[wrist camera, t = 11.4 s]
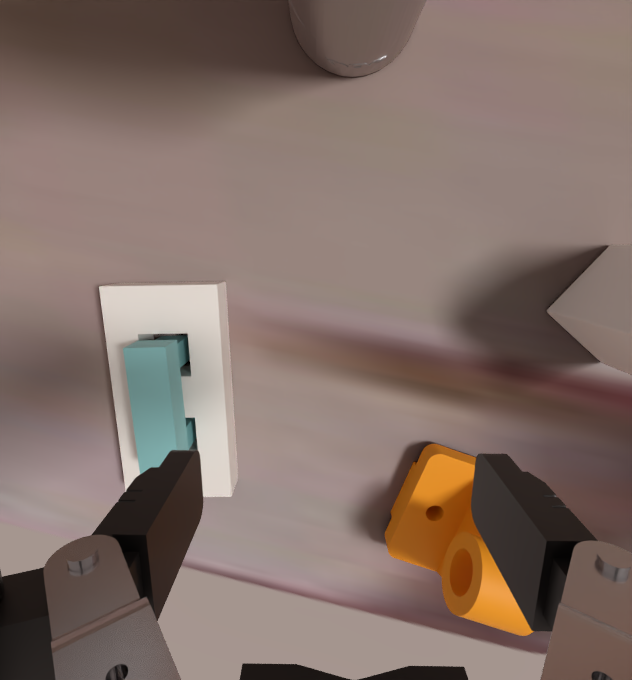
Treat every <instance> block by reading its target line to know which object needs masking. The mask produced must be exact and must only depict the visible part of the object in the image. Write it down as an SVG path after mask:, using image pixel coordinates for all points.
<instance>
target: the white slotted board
mask: <svg viewBox="0 0 632 680" xmlns="http://www.w3.org/2000/svg"><path fill="white" fill-rule="evenodd" d="M99 291H100V299H101V306H102V314H103V321H104V329H105V337H106V344H107V352H108V360H109V367H110V375H111V383H112V390H113V398H114V405H115V413H116V421H117V428H118V436H119V444H120V451H121V459H122V467H123V474H124V482H125V489H127V488H128V487H129V486H130V484H131V483H132V482H133V480H134V479H135V478H136V477H137V476H139V475H140V470H139V463H138V456H137V448H136V441H135V434H134V426H133V419H132V412H131V404H130V397H129V390H128V382H127V375H126V368H125V360H124V353H123V348H124V347H126V346H128V345H130V344H132V343H134V342H136V341H144V340H154V334H184V333H188V343H189V355H190V366H182V367H181V368H180V373H181V382H182V392H183V401H184V410H185V418H195V424H196V436H197V441H194V442H193V444H192V445H191V447H190V448H189V450H198V451H199V454H200V460H201V474H202V488H203V497H232V494H233V491H234V488H235V486H236V483H237V480H238V465H237V449H236V433H235V418H234V402H233V387H232V371H231V355H230V340H229V324H228V308H227V293H226V281H211V282H149V283H115V284H109V285H104V286H99Z"/></svg>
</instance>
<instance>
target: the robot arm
mask: <svg viewBox="0 0 632 680" xmlns="http://www.w3.org/2000/svg"><path fill="white" fill-rule="evenodd" d="M288 1H289V9H290V16H291V21H292V26H293V30H294V32H295V35H296V37H297V39H298V42H299V44H300V45H301V47H302V48H303V50H304V51H305V53H306V54H307V55H308V56H309V57H310V58H311V59H312V60H313V61H314V62H315V63H316V64H317V65H319V66H320V67H322V68H323V69H325V70H327V71H328V72H331V73H334V74H337V75H340V76H349V77H357V76H364V75H368V74H371V73H373V72H376V71H379V70H380V69H382V68H383V67H385V66H386V65H388V64H389V63H391V62H392V61H393V60H394V59H395V58H396V57H397V56H398V55H399V53H400V52H401V51H402V49H403V48H404V46H405V45H406V43H407V42H408V40H409V38H410V36H411V33H412V31H413V29H414V27H415V24H416V22H417V20H418V17H419V15H420V13H421V11H422V9H423V7H424V4H425V2H426V0H288ZM202 509H203V488H202V474H201V460H200V454H199V451H198V450H171V451H170V452H169V453H168V455H167V456H166V458H165V459H164V461H163V462H162V463H161V465H160V466H159V467H151V468H149V469H148V470H146V471H145V472H143V473H142V474H140V475H139V476H137V477H136V478H135V479H134V480H133V482H132V483H131V484H130V486H129V487H128V488H127V489H126V492H124V493H123V495H122V496H121V497H120V499H119V501H118V502H117V503H116V504H115V505H114V506H113V508H112V509H111V510H110V512H109V513H108V514H107V516H106V517H105V518H104V519H103V521H102V522H101V523H100V525H99V526H98V527H97V529H96V530H95V531H94V533H93V534H92V535H91V536H86V537H83V538H79V539H77V540H74V541H72V542H70V543H68V544H66V545H65V546H63V547H62V548H60V549H59V550H57V551H56V552H55V553H54V554H53V555H52V556H51V557H50V558H49V559H48V561H47V563H46V564H45V567H44V568H40V569H36V570H31V571H27V572H22V573H18V574H13V575H8V576H4V577H2V576H1V571H0V680H181V678H180V676H179V673H178V671H177V668H176V666H175V664H174V661H173V659H172V656H171V654H170V652H169V649H168V647H167V644H166V642H165V639H164V637H163V634H162V632H161V629H160V627H159V624H158V622H157V621H158V618H159V616H160V613H161V611H162V609H163V606H164V604H165V602H166V600H167V597H168V595H169V592H170V590H171V588H172V585H173V583H174V581H175V578H176V576H177V574H178V571H179V569H180V567H181V564H182V562H183V560H184V557H185V555H186V552H187V550H188V548H189V545H190V543H191V541H192V538H193V536H194V534H195V531H196V529H197V527H198V524H199V522H200V519H201V515H202ZM471 511H472V517H473V521H474V523H475V526H476V528H477V529H478V531H479V533H480V535H481V537H482V539H483V541H484V543H485V544H486V546H487V548H488V550H489V552H490V554H491V556H492V558H493V559H494V561H495V563H496V565H497V567H498V569H499V571H500V572H501V574H502V576H503V578H504V580H505V582H506V584H507V586H508V587H509V589H510V591H511V593H512V595H513V597H514V599H515V600H516V602H517V604H518V606H519V608H520V610H521V612H522V614H523V615H524V617H525V619H526V621H527V623H528V625H529V627H530V628H531V630H532V631H552V634H551V638H550V642H549V646H548V651H547V655H546V659H545V663H544V667H543V671H542V675H541V680H632V554H631V553H630V552H628V551H626V550H624V549H622V548H620V547H617V546H615V545H612V544H609V543H605V542H600V541H598V540H597V539H596V538H595V537H594V536H593V535H592V534H591V533H590V532H589V531H588V529H587V528H586V527H585V526H584V525H583V524H582V523H581V522H580V521H579V520H578V518H577V517H576V516H575V515H574V514H573V513H572V512H571V511H570V510H569V509H568V508H566V505H565V504H564V503H563V502H562V501H561V500H560V499H559V498H557V497H556V494H555V493H554V492H553V491H552V490H551V489H550V488H549V487H548V486H547V484H546V483H545V482H543V481H541V480H540V479H538V478H537V477H535V476H533V475H532V474H530V473H529V472H522V471H521V470H520V468H519V467H518V466H517V465H516V464H515V463H514V461H513V460H512V459H511V458H510V457H509V456H508V455H507V454H478V456H477V458H476V462H475V470H474V479H473V489H472V498H471ZM240 680H350V679H346V678H342V677H339V676H335V675H332V674H328V673H325V672H322V671H318V670H314V669H311V668H308V667H304V666H301V665H297V664H243V665H242V670H241V676H240ZM359 680H468V677H467V675H466V671H465V668H464V667H445V666H443V667H442V666H408V667H404V668H400V669H396V670H393V671H389V672H385V673H382V674H378V675H374V676H371V677H367V678H363V679H359Z"/></svg>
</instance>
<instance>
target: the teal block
mask: <svg viewBox="0 0 632 680" xmlns="http://www.w3.org/2000/svg"><path fill="white" fill-rule="evenodd" d="M123 353H124V360H125V368H126V375H127V382H128V390H129V397H130V404H131V412H132V419H133V426H134V434H135V441H136V448H137V456H138V463H139V470H140V474H142V473H143V472H145V471H146V470H148V469H149V468H151V467H159V466H160V465H161V463H162V462H163V461H164V459H165V458H166V456H167V455H168V453H169V452H170V451H171V450H189V448H190V447H191V445H192V444H193V442H194V441H195V439H196V438H197V436H196V424H195V418H185V410H184V401H183V392H182V382H181V373H180V368H181V367H182V366H183V365H184V364H185V363H187V362H188V361H189V360H190V355H189V343H188V335H178V336H161V337H159V338H157V339H156V340H144V341H136V342H134V343H132V344H130V345H128V346H126V347H124V348H123Z"/></svg>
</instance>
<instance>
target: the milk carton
mask: <svg viewBox="0 0 632 680" xmlns="http://www.w3.org/2000/svg"><path fill="white" fill-rule="evenodd" d="M547 313H548V314H549V315H550V316H551V317H552V318H553V319H555V320H556V321H557V322H558V323H559V324H560V325H561V326H562V327H563V328H564V329H565V330H566V331H568V332H569V333H570V334H571V335H572V336H573V337H574V338H575V339H576V340H577V341H578V342H579V343H581V344H582V345H583V346H584V347H585V348H586V349H587V350H588V351H589V352H590V353H591V354H592V355H594V356H595V357H596V358H597V359H598V360H599V361H600V362H602V363H604V364H606V365H608V366H611V367H613V368H616V369H618V370H621V371H623V372H626V373H628V374H630V375H632V244H630V245H610V246H609V247H608V248H607V249H606V250H605V251H604V252H603V253H602V254H601V255H600V256H599V257H598V258H597V259H596V260H595V261H594V262H593V263H592V264H591V265H590V266H589V267H588V268H587V269H586V270H585V271H584V272H583V273H582V274H581V275H580V276H579V277H578V279H577V280H576V281H575V282H574V283H573V284H572V285H571V286H570V287H569V288H568V289H567V290H566V291H565V292H564V293H563V294H562V295H561V296H560V297H559V298H558V299H557V300H556V301H555V302H554V303H553V304H552V305H551V306H550V307H549V308H548V309H547Z"/></svg>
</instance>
